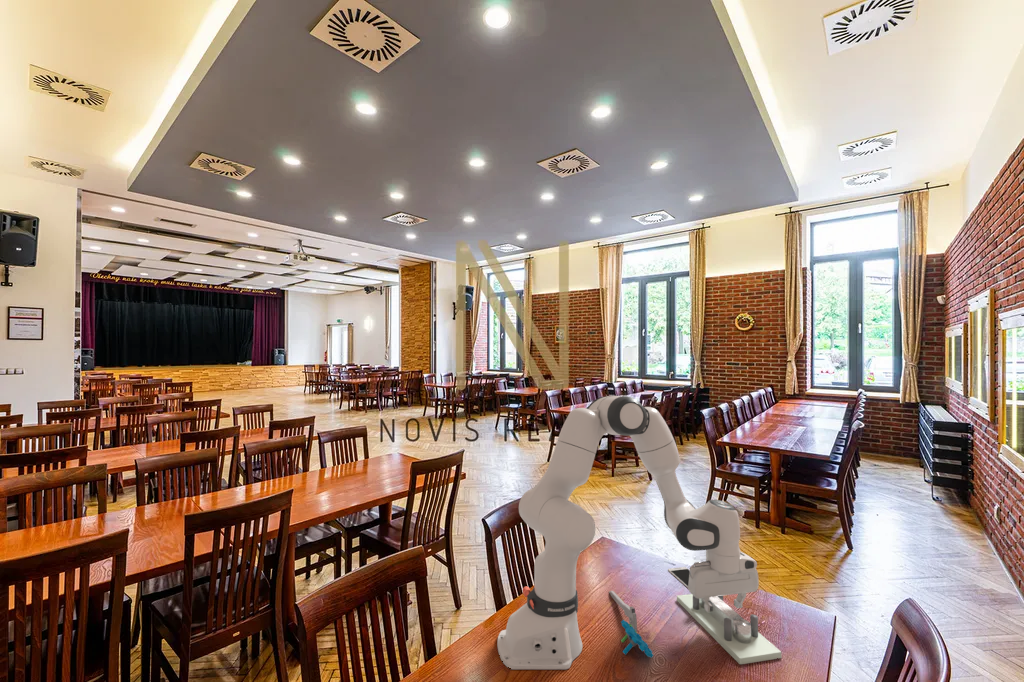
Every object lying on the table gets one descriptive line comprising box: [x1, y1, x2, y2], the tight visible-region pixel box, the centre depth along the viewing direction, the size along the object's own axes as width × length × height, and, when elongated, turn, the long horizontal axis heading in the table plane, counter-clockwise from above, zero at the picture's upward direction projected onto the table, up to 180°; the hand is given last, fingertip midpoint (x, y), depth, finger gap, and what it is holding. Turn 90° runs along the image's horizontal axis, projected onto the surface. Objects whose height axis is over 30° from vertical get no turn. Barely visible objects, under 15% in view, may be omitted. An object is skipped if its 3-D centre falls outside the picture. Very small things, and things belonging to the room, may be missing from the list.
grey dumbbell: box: [699, 596, 751, 644], centre depth 123 cm, size 4×19×4 cm, turn 11°
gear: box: [620, 619, 654, 659], centre depth 113 cm, size 11×6×10 cm
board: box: [676, 593, 783, 665], centre depth 123 cm, size 12×28×6 cm, turn 11°
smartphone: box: [667, 566, 690, 589], centre depth 147 cm, size 7×15×1 cm, turn 12°
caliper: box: [608, 590, 638, 633], centre depth 130 cm, size 20×1×6 cm, turn 7°
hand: (723, 608), depth 123 cm, fingers open, 8 cm apart
